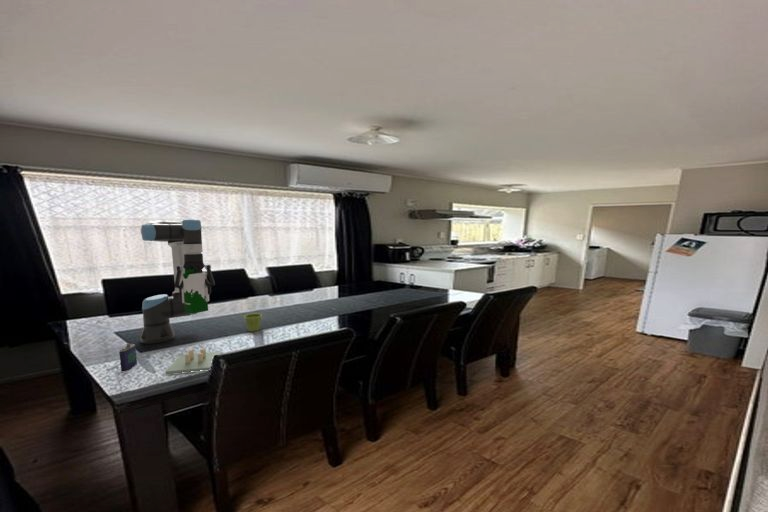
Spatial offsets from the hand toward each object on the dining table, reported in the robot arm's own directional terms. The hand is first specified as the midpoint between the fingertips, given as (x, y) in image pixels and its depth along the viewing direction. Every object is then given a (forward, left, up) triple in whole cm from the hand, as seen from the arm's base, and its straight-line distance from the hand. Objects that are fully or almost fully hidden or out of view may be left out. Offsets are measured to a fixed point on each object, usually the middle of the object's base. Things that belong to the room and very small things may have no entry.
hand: (196, 301), depth 157 cm
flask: (-26, -6, -26) cm, 38 cm away
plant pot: (+20, +35, -26) cm, 48 cm away
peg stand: (+1, -9, -26) cm, 28 cm away
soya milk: (0, 0, -5) cm, 5 cm away
